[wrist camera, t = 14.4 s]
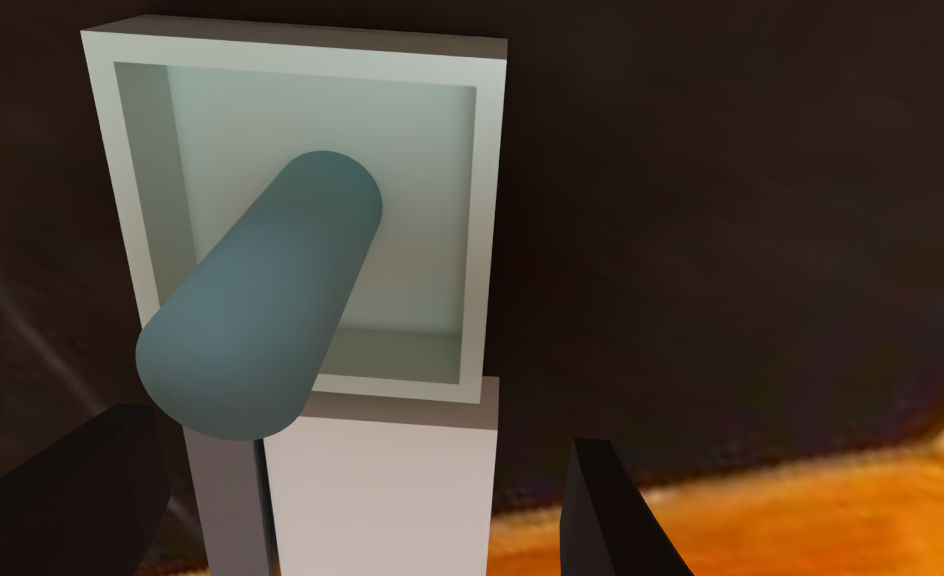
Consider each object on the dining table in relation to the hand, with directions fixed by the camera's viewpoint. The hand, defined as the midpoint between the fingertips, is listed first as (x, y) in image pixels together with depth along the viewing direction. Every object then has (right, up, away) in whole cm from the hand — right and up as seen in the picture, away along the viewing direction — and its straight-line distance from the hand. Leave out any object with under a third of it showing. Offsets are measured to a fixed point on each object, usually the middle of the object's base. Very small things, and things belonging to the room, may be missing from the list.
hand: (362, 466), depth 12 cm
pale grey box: (-1, -3, +13) cm, 13 cm away
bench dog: (-6, -3, +12) cm, 14 cm away
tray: (-2, +6, +8) cm, 10 cm away
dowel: (-2, +5, +7) cm, 9 cm away
